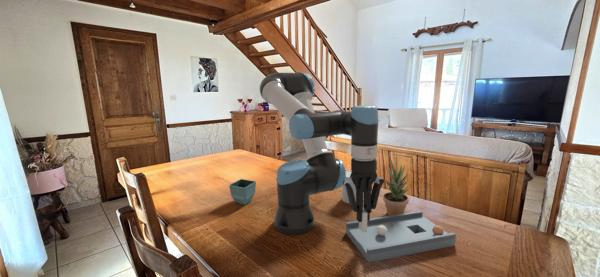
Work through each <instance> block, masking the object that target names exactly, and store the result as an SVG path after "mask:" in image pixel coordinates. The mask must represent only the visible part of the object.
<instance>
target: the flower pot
mask: <svg viewBox="0 0 600 277" xmlns="http://www.w3.org/2000/svg"><path fill="white" fill-rule="evenodd" d="M228 186H229V191H230V192H229V193H230V196H231V198H232V200H233V201H234V202H235V203H237V204H240V205H247V204H248V203H250V202H251V201H252V200H253V198H254V196H255V193H256V186H257V181H256V180H249V179H244V178H243V179H242V178H240V179H238V180H236V181H234V182H232V183H230V184H229V185H228Z"/></svg>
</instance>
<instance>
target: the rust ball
mask: <svg viewBox="0 0 600 277" xmlns="http://www.w3.org/2000/svg"><path fill="white" fill-rule="evenodd" d="M435 225H436V224H435ZM432 231H433V233H434V234H435V235H436V236H437V235H442V234H443V233H444V231H445V230H444V228H443V227H442V226H441V225H436V226H434V227H433V229H432Z"/></svg>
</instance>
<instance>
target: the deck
mask: <svg viewBox="0 0 600 277" xmlns="http://www.w3.org/2000/svg"><path fill="white" fill-rule="evenodd" d="M423 214H424V213H423V211H422V210H418V211H411V212H404V213H403V214H397V215H390V216H389V215H386V216H378V217H373V218H371V217H370V219H369V221H367V232H364V233H362V231H361V230H360V229H359V222H358V221H357V220H354V221H353V220H351V221H347V222H345V234H346V235H347V237H348V238H349V239H350V240H351V241H352V243H353V244H354V246H355V247H356V249H357V250H358V251H359V253H360V254H361V256H362V257H363V258H364V259H365V261H366V262H367V263H374V262H379V261H383V260H384V261H385V260H388V259H393V258H398V257H404V256H409V255H414V254H415V255H416V254H419V253H425V252H429V251H434V250H438V249H444V248H449V247H455V246H456V237H457V234H456V233H455V232H448V231H446V230H444V233H443V234H442V235H437V236H436V235H435V234H434V233H433V231H432V229H433V227H434V226H436V224H435V223H434V222H432V221H431V220H429V219H428V218H427V217H425V216H423ZM380 225H383V226H385V227H386V229H387V233H386V235H384V236H381V235H379V234H378V233H377V227H378V226H380ZM415 232H416V233H415Z"/></svg>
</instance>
